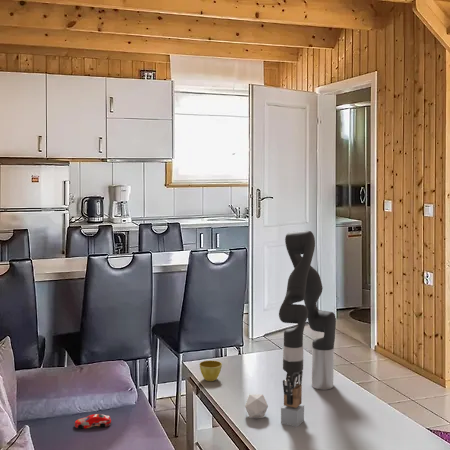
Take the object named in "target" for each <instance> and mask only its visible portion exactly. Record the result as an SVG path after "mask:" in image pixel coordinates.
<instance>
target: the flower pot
mask: <svg viewBox="0 0 450 450" xmlns="http://www.w3.org/2000/svg"><path fill="white" fill-rule="evenodd" d="M222 365H223V364H222V362H221V361H218V360H203V361H201V362H199V370H200V373H201V375H202V378H203V379H204V380H205V381H207V382H214V380H215V381H216V380H217V379H218V377H219V375H220V374H221V370H222V367H223V366H222Z"/></svg>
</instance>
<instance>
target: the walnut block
mask: <svg viewBox="0 0 450 450" xmlns="http://www.w3.org/2000/svg"><path fill="white" fill-rule="evenodd" d="M291 386H293V385H291ZM302 386H303V385H302V384H301V385H296V386H295V389H293V404H292V405H288V404H287V395H285V394H284V393H283V406H289V407H294V408H297V407H298V406H299V405H302V399H303V398H302V397H303V396H302V393H303V391H302V390H303V387H302Z"/></svg>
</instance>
